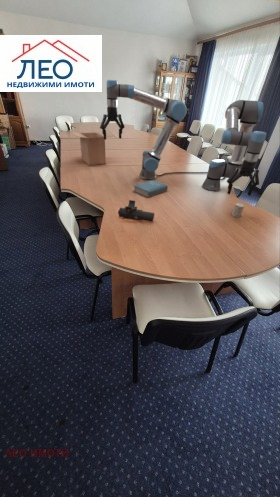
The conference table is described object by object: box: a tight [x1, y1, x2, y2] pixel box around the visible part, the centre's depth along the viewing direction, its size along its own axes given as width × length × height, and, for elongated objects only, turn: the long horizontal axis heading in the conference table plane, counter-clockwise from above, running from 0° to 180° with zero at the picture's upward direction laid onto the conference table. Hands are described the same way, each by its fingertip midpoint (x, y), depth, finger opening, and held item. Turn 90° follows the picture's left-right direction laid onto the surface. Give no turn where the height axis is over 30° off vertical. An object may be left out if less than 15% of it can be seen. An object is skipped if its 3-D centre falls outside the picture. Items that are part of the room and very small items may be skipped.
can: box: [231, 202, 245, 218], centre depth 151 cm, size 6×6×8 cm
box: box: [70, 129, 114, 166], centre depth 229 cm, size 44×36×27 cm
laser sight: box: [117, 199, 155, 223], centre depth 137 cm, size 10×22×10 cm, turn 78°
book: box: [133, 179, 169, 198], centre depth 177 cm, size 23×16×5 cm
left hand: (112, 138), depth 173 cm, fingers open, 13 cm apart
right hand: (238, 194), depth 144 cm, fingers open, 13 cm apart
